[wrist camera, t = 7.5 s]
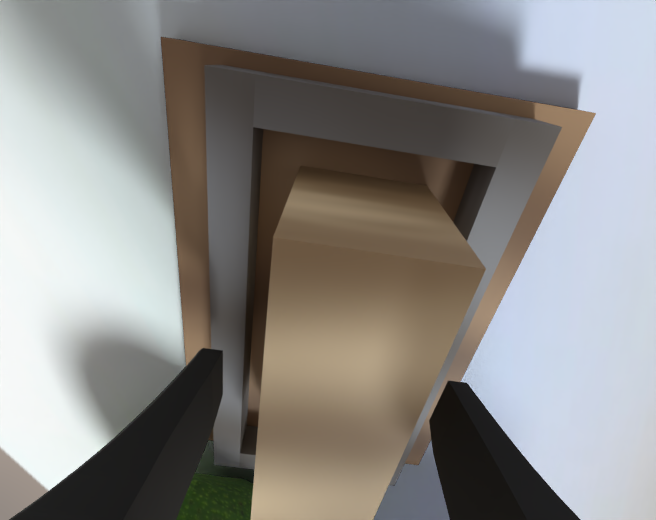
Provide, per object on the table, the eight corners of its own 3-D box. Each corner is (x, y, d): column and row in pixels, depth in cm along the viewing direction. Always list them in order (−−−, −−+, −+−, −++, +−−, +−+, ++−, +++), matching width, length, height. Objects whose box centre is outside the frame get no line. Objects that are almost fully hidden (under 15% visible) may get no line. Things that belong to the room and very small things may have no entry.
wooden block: (354, 423, 17) (360, 548, 12) (272, 412, 17) (249, 537, 12) (427, 185, 11) (486, 269, 6) (300, 165, 11) (273, 237, 6)
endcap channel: (415, 450, 19) (423, 493, 17) (197, 423, 18) (180, 465, 17) (578, 110, 10) (632, 121, 8) (173, 38, 10) (132, 33, 8)
